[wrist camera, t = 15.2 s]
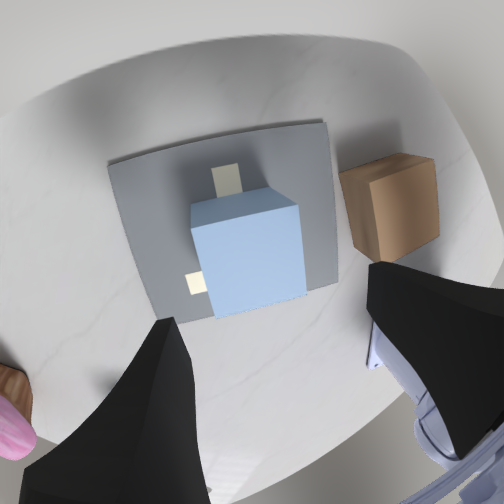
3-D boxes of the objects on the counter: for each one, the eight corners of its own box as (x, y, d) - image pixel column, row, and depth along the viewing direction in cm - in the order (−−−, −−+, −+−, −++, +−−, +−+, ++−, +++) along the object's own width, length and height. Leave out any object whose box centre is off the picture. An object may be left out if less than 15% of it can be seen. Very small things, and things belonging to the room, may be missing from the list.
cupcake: (35, 359, 19) (3, 440, 10) (58, 411, 22) (42, 482, 13) (-24, 340, 17) (-62, 404, 8) (1, 393, 20) (-21, 453, 10)
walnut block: (398, 152, 19) (433, 159, 15) (407, 220, 21) (439, 235, 18) (337, 173, 19) (369, 182, 15) (352, 246, 21) (381, 267, 18)
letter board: (323, 122, 17) (326, 122, 16) (336, 279, 22) (338, 282, 21) (108, 165, 15) (106, 166, 15) (161, 324, 20) (161, 327, 20)
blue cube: (269, 186, 17) (298, 204, 13) (279, 257, 19) (306, 294, 15) (190, 204, 17) (190, 228, 12) (208, 275, 19) (215, 318, 14)
